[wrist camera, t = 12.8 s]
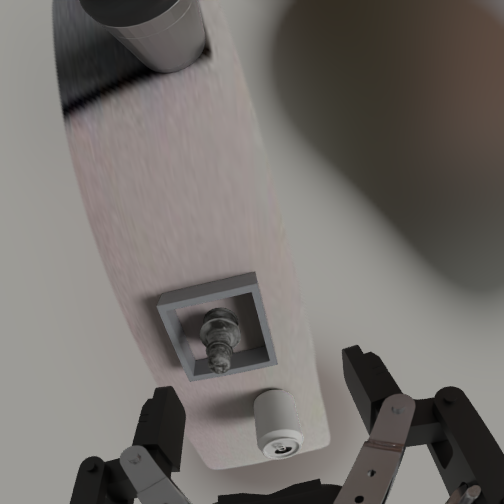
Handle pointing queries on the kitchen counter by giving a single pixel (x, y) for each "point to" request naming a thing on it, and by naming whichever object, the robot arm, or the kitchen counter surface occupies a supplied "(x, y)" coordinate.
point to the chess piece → (220, 338)
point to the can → (277, 424)
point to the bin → (206, 294)
